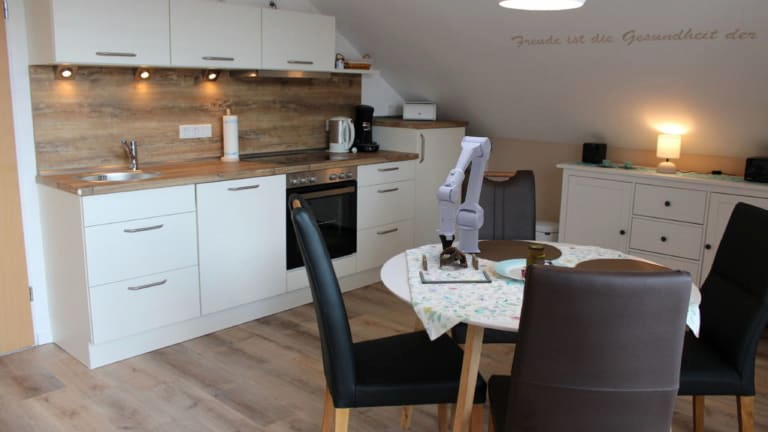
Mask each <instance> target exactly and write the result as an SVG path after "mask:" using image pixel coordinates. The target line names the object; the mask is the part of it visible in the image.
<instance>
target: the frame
mask: <svg viewBox="0 0 768 432" xmlns="http://www.w3.org/2000/svg"><path fill="white" fill-rule="evenodd" d="M482 274H483V275H484V278H485V279H486V280H485V279H484V280H483V279H481V280H480V279H479V280H476V279H475V280H471V279H470V280H469V279H467V280H426V279H425V275H424V273H423V271H422V270H420V271H419V276H420V280H421V284H423V285H426V284H427V285H429V284H430V285H431V284H492V283H493V281H492V279H491V277H490V275H488V272H487V271H486V270H482Z"/></svg>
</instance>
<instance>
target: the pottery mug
mask: <svg viewBox="0 0 768 432" xmlns="http://www.w3.org/2000/svg"><path fill="white" fill-rule="evenodd" d="M448 252H449V254H450V255H448V256H447V257H444V256H446V255H445V254H446V253H448ZM458 261H459V264H460V265H465V268H466V269H468V267H469V265H468V260H467V257H466V255H465V253H463V252H462V251H461V250H458V248H457V246H452V247H449V248H446V249H445V250H443V249H442V251H441V252H440V253H439V266H440V267H443V266H448V265H450V264H455V265H456V262H458Z"/></svg>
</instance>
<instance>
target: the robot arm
mask: <svg viewBox="0 0 768 432" xmlns="http://www.w3.org/2000/svg"><path fill="white" fill-rule="evenodd" d="M460 150H461V152H460V155H459V157H458V160H457V162H456V165H455V168H453V169H451V170H450V171H449V173H448V174H447V177H446V180H445V181H444V183H443V185H440V186H439V188H438V189H437V191H436V192H437V193H436V199H437V204H438V206H439V228H438V229H436V230H435V232H436V233H437V234H438V233H439V235H438V236H439V239H440V242H441V248H442V251H443V250H445V249H446V248H449V247H453V244H454V241H455V239H456V236H455V234H456V226H457V228H459V232H458V233H459V235H458V237H459V238H458V245H456V248H457V249H458V250H461V251H462V252H463V253H464V254H465V253H466V254H467V253H468V254H470V253H471V254H475V253H477V254H478V253H481V250H480V249H479V229H481V228H482V227H483V224H484V218H485V217H484V214H485V213H484V209H483V207H481V206H480V205H479V202H480V197H481V191H482V186H483V181H484V175H485V168H486V163H487V161H489V158H490V154H491V150H492V145H491V140H490V139H489V138H488V137H487V136H485V137H479V136H469V135H466V136H463V138H462V140H461V143H460ZM470 163H471V167H470V173H469V179H468V184H467V190H466V193H465V194H466V196H465V200H464V202H463V203H462V204H459V206H458V208H457V211H456V202H458V200H459V198H460V191H461V189H460V188H461V186H462V184H463V182H464V179H465V178H466V177H465V176H466V175H465V171H466V169H467V168H468V167H469V165H470ZM444 256H450V254H449V252H448V253H446V254H445V255H444Z"/></svg>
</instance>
